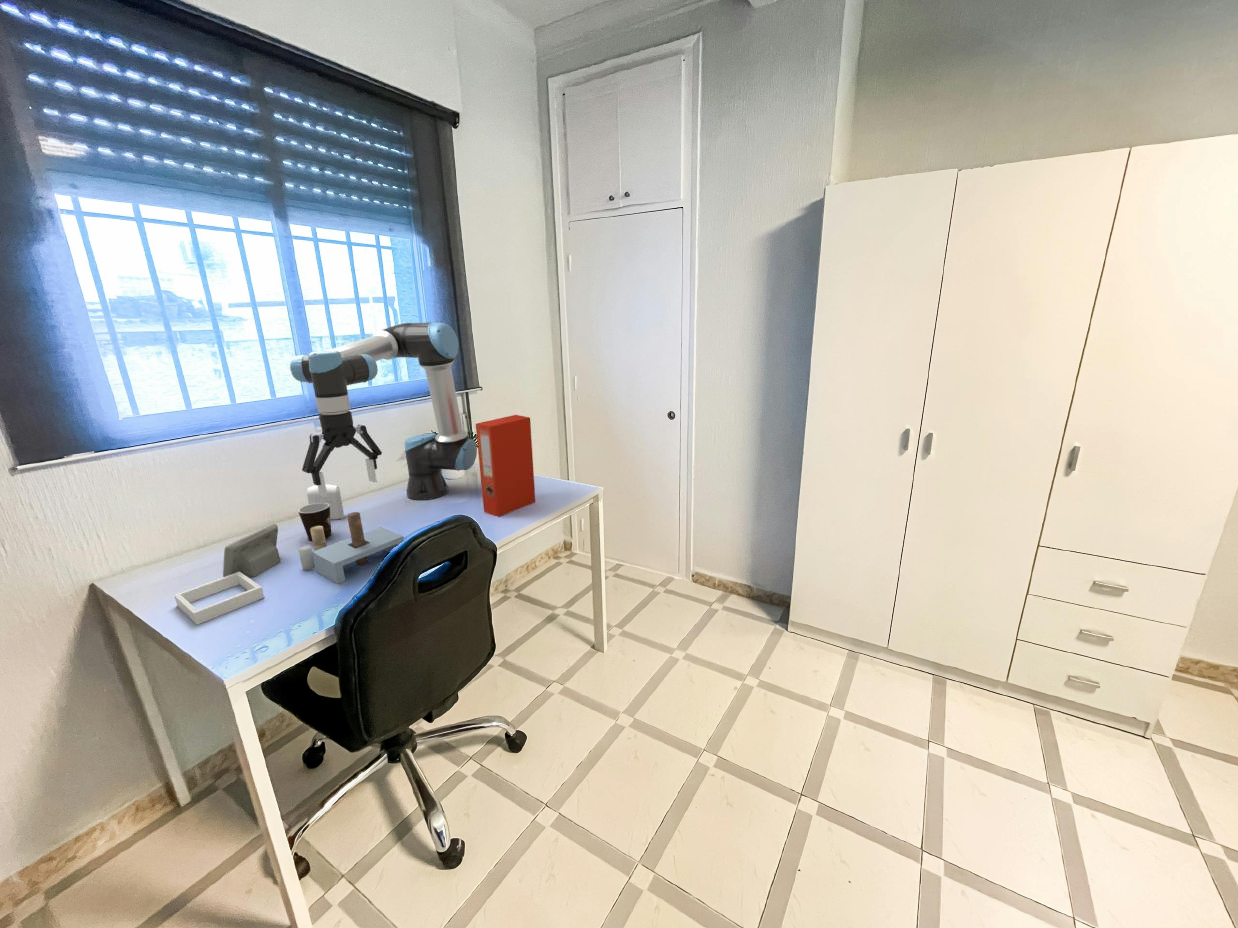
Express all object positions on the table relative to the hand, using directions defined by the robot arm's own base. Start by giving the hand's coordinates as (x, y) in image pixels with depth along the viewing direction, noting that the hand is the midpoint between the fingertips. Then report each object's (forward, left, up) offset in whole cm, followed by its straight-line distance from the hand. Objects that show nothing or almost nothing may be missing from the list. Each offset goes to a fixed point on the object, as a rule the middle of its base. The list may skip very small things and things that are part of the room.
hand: (349, 488), depth 141 cm
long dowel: (0, 0, -23) cm, 23 cm away
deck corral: (+31, -10, -23) cm, 40 cm away
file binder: (-53, +4, -23) cm, 58 cm away
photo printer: (-10, -41, -23) cm, 49 cm away
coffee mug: (-3, -29, -23) cm, 37 cm away
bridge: (0, 0, -22) cm, 23 cm away
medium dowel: (+5, -14, -23) cm, 27 cm away
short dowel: (+10, -10, -23) cm, 27 cm away
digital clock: (+19, -23, -23) cm, 37 cm away
